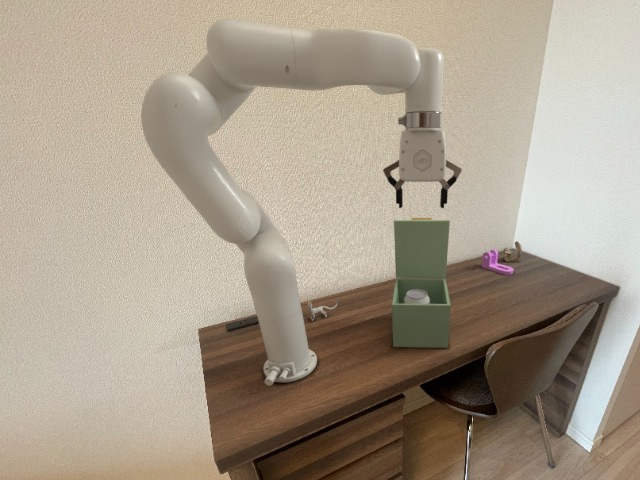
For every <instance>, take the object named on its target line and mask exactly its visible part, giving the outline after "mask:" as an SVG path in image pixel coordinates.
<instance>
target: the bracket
mask: <svg viewBox="0 0 640 480" xmlns="http://www.w3.org/2000/svg"><path fill="white" fill-rule="evenodd" d="M481 258H482V259H481V268H483V269H487V270H490V271H492V272H495V273H499V274H502V275H504V276H505V275H507V276H510V275H513V274H514V271H515V269H514V268H513V267H511V266H508V265H505V264H502V263H498V260H499V259H498V258H499V251H498V250H496V249H490V250H489V251H485V252H483V253H482V257H481Z"/></svg>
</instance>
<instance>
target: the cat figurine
mask: <svg viewBox="0 0 640 480" xmlns="http://www.w3.org/2000/svg"><path fill="white" fill-rule="evenodd" d="M514 247H515V249H516V250H517V254H516V255H515V256H514V257H511V255H512V254H513V251H512V250H511V249H509V248H508V247H507V246H506V247H504V249H503V256H504V261H505V262H506V263H508V262H517V263H518V262H519V261H520V259H521V255H522V254H521V253H522V250H523V249H522V244H521V243H520V242H519V241H518V240H516V241H515V242H514Z"/></svg>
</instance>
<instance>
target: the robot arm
mask: <svg viewBox="0 0 640 480" xmlns="http://www.w3.org/2000/svg"><path fill="white" fill-rule="evenodd" d="M206 51H207V52H206V53H205V55H204V56H202V57H203V58H202V59H201V60H200V61H199V62H198V63H197V64H196V66H195V67H194V68H193V69H192V70H191V71H190V72H189V73H188V74H185V73H181V72H168V73H163V74H162V75H160V76H158V77H157V78H156V79H154V80H153V82H152V83H151V84H150V86H149V87H148V88H147V90H146V93H145V94H144V98H143V100H142V104H141V111H140V118H141V120H140V121H141V122H140V123H141V128H142V132H143V136H144V138H145V141H146V145H147V146H148V147H149V151H150V152H151V153H152V155H153V156H154V158H155V159H156V161H157V162H158V164H159V165H160V167H161V168H162V169H163V170H164V172H165V173H166V174H167V176H168V177H169V178H170V179H171V180H172V181H173V183H174V184H175V185H176V187H177V188H178V189H179V190H180V191H181V193H182V195H184V197H185V198H186V199H187V200H188V202H189V203H190V204H191V205H192V207H193V208H194V209H195V210H196V212H197V213H198V214H199V215H200V217H202V218H203V220H204V221H205V222H206V224H207V226H209V228H210V229H211V230H212V232H213V233H214V234H215V235H216V236H217V237H219V238H220V239H221V240H223V241H225V242H227V243H231V244H233V245H234V244H235V245H236V247H237V248H238V249H239V250H240V251H241V252H242V254H243V256H244V257H243V270H244V271H243V272H244V277H245V280H246V284H247V286H248V290H249V292H250V296H251V299H252V302H253V306H254V311H255V315H256V317H257V321H258V325H259V329H260V333H261V336H262V341H263V345H264V348H265V352H266V356H267V360H266V361H265V362H264V364H263V368H262V370H263V374H264V376H265V379H264V381H263V383H264V384H265V385H266V386H269V387H271V386H273V384H274V383H290V382H296V381H299V380H300V379H303V378H305V377H307V376H308V375H310V374H312V372H313V371H314V370H315V369H316V368H317V364H318V357H317V354H316V353H315V352H314V351H313V350H312V349H310V348H309V343H308V338H307V331H306V325H305V321H304V315H303V309H302V304H301V299H300V298H301V297H300V294H299V286H298V279H297V272H296V271H297V270H296V265H295V261H294V258H293V254H292V252H291V250H290V247H289V244H288V242H287V240H286V239H285V237H284V236H283V235H282V233H281V231H279V229H278V227H277V226H276V225H275V223H274V222H273V220H272V219H271V218H270V216H269V215H268V213H267V212H266V211H265V209H264V208H263V207H262V205H261V203H260V202H259V201H258V200H257V198H256V197H255V196H254V195H253V194H252V193H250V192H249V191H247V190H246V189H244V188H241V187H240V186H239V184H238V183H237V181H235V179H234V178H233V176H232V175H231V174H230V172H229V170H228V169H227V167H226V165H224V163H223V162H222V161H221V159H220V158H219V157H218V155H217V154H216V152H215V151H214V150H213V148H212V145H211V144H210V141H209V140H210V139H209V136H211V135H213V134H215V133H216V132H218V131H219V130H220V129H221V128H222V127H223V126H224V125H225V124H226V123H227V122H228V120H229V119H230V118H231V117H232V116H233V115H234V114H235V113H236V111H237V110H239V108H241V106H242V105H243V104H244V103H245V102H246V101H247V100H248V98H249V97H250V96H251V95H252V93H253V92H254V91H255V89H256V88H257V87H259V88H274V89H275V88H277V89H289V90H300V91H311V92H313V91H315V92H316V91H325V90H330V89H333V88H334V89H335V88H338V87H347V86H367V87H368V88H369V89H370V91H372V92H373V93H375V94H378V95H382V96H390V95H395V94H396V95H397V94H404V115H403V116H400V117H397V119H398V121H397V124H398V125H400V126H403V127H404V130H402V131H401V133H400V139H399V149H398V151H399V153H398V154H399V155H398V160H396V161H393V163H391V164H388V165H387V166H386V167H384V168H383V170H382V172H383V174H384V177H385V178H386V180H387V182H388V183H389V184H390V185H391V186H392V188H394V190H395V204H396V205H398V209H402V208H403V206H404V205H403V201H404V200H403V199H404V198H403V191H404V190H403V187H402V186H403V185H404V184H405V183H406V182H407V183H412V182H414V183H420V182H421V183H422V182H423V183H430V182H431V183H433V182H434V183H437V182H439V184H440V185H441V188H440V197H439V198H440V199H439V201H440V202H439V207H440V208H441V209H445V205H447V204H448V194H449V193H448V192H449V190H450V188H451V187H452V186H454V184H455V183H456V182H457V181H458V179H459V177H460V175H461V173H462V171H463V170H462V168H461V167H460V166H458V165H456V164H455V163H453V162H451V161H450V160H448V159H447V141H446V131H445V130H442V118H443V117H442V113H443V95H444V93H443V90H444V71H445V69H444V68H445V67H444V66H445V57H444V54H443V52H442V51H441V50H440V49H438V48H436V47H427V46H426V47H425V46H424V47H417V46H416V44H414V42H412V40H410V39H409V38H408V37H405V36H404V35H401V34H398V33H392V32H385V31H378V30H372V29H364V28H363V29H362V28H337V29H336V28H334V29H333V28H319V29H317V28H316V29H310V28H300V27H292V26H285V25H278V24H272V23H271V24H270V23H264V22H257V21H249V20H243V19H234V18H233V19H232V18H223V19H219V20H216V21H215V22H213V23H212V24H211V25H210V27H209V28H208V31H207V34H206ZM396 169H398V176H399V179H398V180H396V179H395V178H394V177H393V174H392V172H393V171H395V170H396ZM447 169H449V170H451V171H452V175H451V176H450V178H449V179H448V180H446V179H445V178H446V172H447Z"/></svg>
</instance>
